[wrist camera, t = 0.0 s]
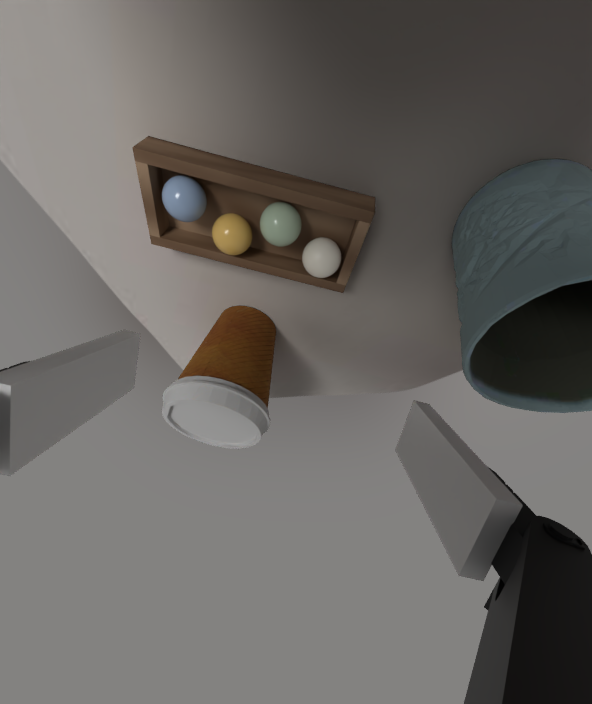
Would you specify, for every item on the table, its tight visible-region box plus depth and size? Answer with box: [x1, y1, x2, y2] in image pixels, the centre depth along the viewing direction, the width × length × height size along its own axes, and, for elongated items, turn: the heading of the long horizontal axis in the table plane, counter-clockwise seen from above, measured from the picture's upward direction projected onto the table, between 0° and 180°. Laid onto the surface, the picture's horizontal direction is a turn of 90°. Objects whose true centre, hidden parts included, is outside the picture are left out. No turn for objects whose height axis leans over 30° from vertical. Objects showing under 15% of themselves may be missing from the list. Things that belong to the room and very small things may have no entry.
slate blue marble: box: [162, 175, 207, 222], centre depth 22 cm, size 3×3×3 cm
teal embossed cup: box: [452, 159, 592, 413], centre depth 18 cm, size 10×10×12 cm
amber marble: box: [212, 213, 252, 255], centre depth 24 cm, size 3×3×3 cm
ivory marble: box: [302, 237, 341, 278], centre depth 24 cm, size 3×3×3 cm
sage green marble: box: [260, 202, 302, 247], centre depth 23 cm, size 3×3×3 cm
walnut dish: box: [133, 136, 375, 293], centre depth 24 cm, size 7×16×2 cm, turn 79°
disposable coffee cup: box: [162, 306, 276, 448], centre depth 31 cm, size 10×10×12 cm
